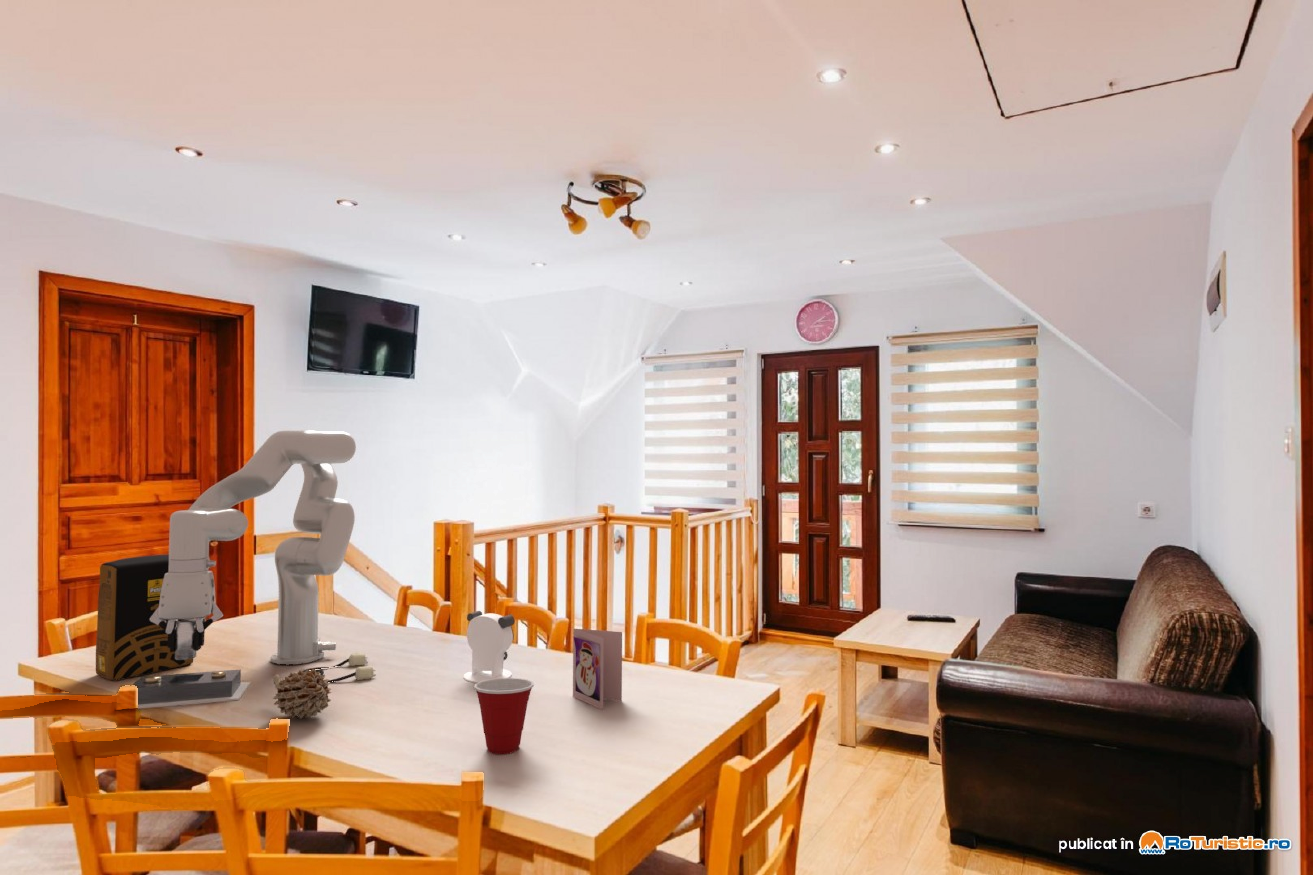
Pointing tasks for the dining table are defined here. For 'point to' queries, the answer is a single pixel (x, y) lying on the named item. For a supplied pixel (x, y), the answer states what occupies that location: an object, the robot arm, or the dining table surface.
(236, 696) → the mat
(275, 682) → the pine cone
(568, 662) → the dining table surface
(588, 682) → the greeting card
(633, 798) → the dining table surface
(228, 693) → the gray slotted block
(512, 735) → the plastic cup
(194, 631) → the pin
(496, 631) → the panda figurine
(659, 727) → the dining table surface
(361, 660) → the cable
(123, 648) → the black product box
